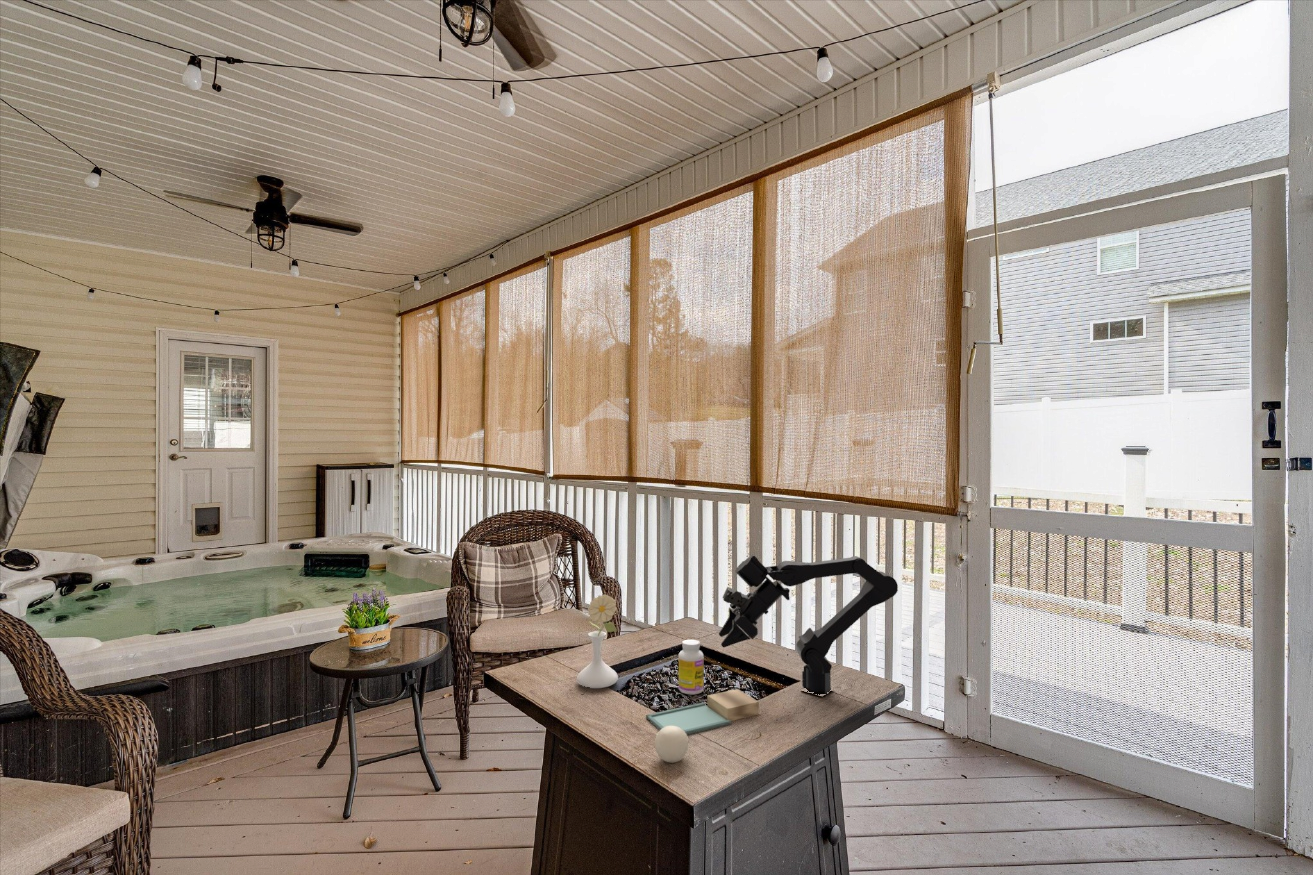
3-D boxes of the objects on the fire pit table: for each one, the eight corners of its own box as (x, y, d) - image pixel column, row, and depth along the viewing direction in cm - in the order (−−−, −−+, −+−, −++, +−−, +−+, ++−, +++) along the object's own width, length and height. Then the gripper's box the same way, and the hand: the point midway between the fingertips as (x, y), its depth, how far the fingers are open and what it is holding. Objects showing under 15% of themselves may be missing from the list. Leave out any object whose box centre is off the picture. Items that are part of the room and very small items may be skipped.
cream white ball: (696, 759, 127) (696, 726, 127) (672, 772, 122) (671, 738, 122) (673, 748, 132) (672, 716, 132) (648, 760, 127) (648, 727, 127)
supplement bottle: (696, 697, 159) (695, 647, 159) (674, 692, 163) (673, 643, 163) (708, 688, 165) (707, 640, 165) (686, 684, 168) (686, 636, 169)
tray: (703, 705, 154) (703, 702, 154) (730, 724, 143) (730, 720, 143) (646, 718, 147) (646, 714, 147) (669, 738, 136) (669, 735, 136)
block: (737, 700, 157) (737, 688, 157) (758, 714, 149) (758, 701, 149) (707, 707, 153) (707, 695, 153) (727, 721, 144) (727, 708, 145)
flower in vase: (567, 685, 168) (567, 593, 168) (597, 673, 176) (597, 586, 177) (601, 697, 159) (600, 600, 160) (631, 684, 168) (630, 592, 169)
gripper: (737, 570, 173) (698, 610, 173) (744, 585, 155) (700, 628, 155) (765, 599, 173) (726, 638, 173) (776, 616, 154) (732, 660, 154)
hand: (721, 640), depth 164 cm, fingers open, 9 cm apart
